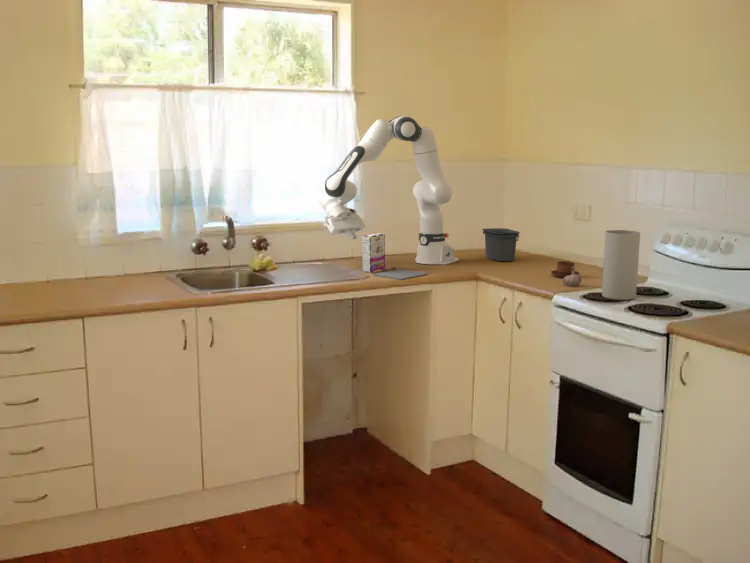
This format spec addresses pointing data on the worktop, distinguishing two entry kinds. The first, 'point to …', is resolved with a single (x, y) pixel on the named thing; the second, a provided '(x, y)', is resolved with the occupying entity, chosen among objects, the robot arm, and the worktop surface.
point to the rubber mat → (400, 274)
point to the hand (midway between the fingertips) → (354, 238)
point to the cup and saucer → (564, 269)
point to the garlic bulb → (572, 279)
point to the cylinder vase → (620, 264)
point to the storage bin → (500, 243)
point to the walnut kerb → (384, 270)
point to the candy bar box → (373, 252)
